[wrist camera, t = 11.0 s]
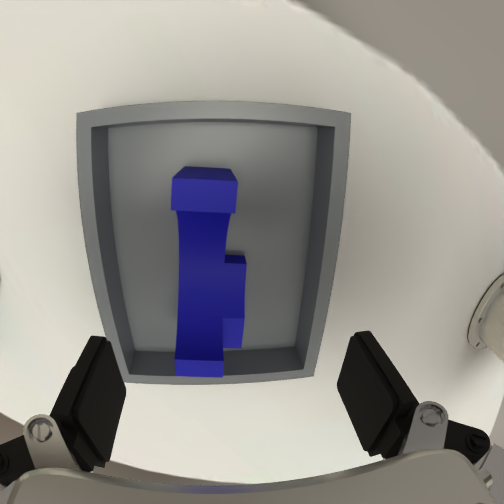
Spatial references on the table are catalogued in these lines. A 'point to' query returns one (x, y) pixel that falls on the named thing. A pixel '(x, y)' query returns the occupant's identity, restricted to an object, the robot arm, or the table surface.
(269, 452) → the table surface
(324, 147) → the gray tray
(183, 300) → the blue long angular piece
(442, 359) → the table surface
